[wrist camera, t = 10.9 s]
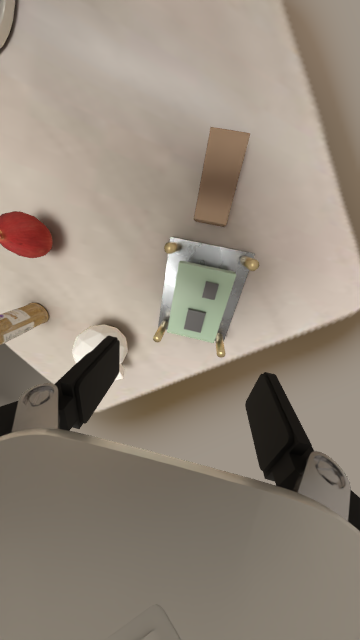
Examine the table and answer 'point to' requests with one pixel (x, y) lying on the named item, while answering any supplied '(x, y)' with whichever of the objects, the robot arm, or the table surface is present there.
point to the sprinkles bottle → (21, 321)
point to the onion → (24, 235)
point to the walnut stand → (220, 175)
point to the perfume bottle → (93, 337)
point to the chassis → (212, 258)
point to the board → (199, 300)
